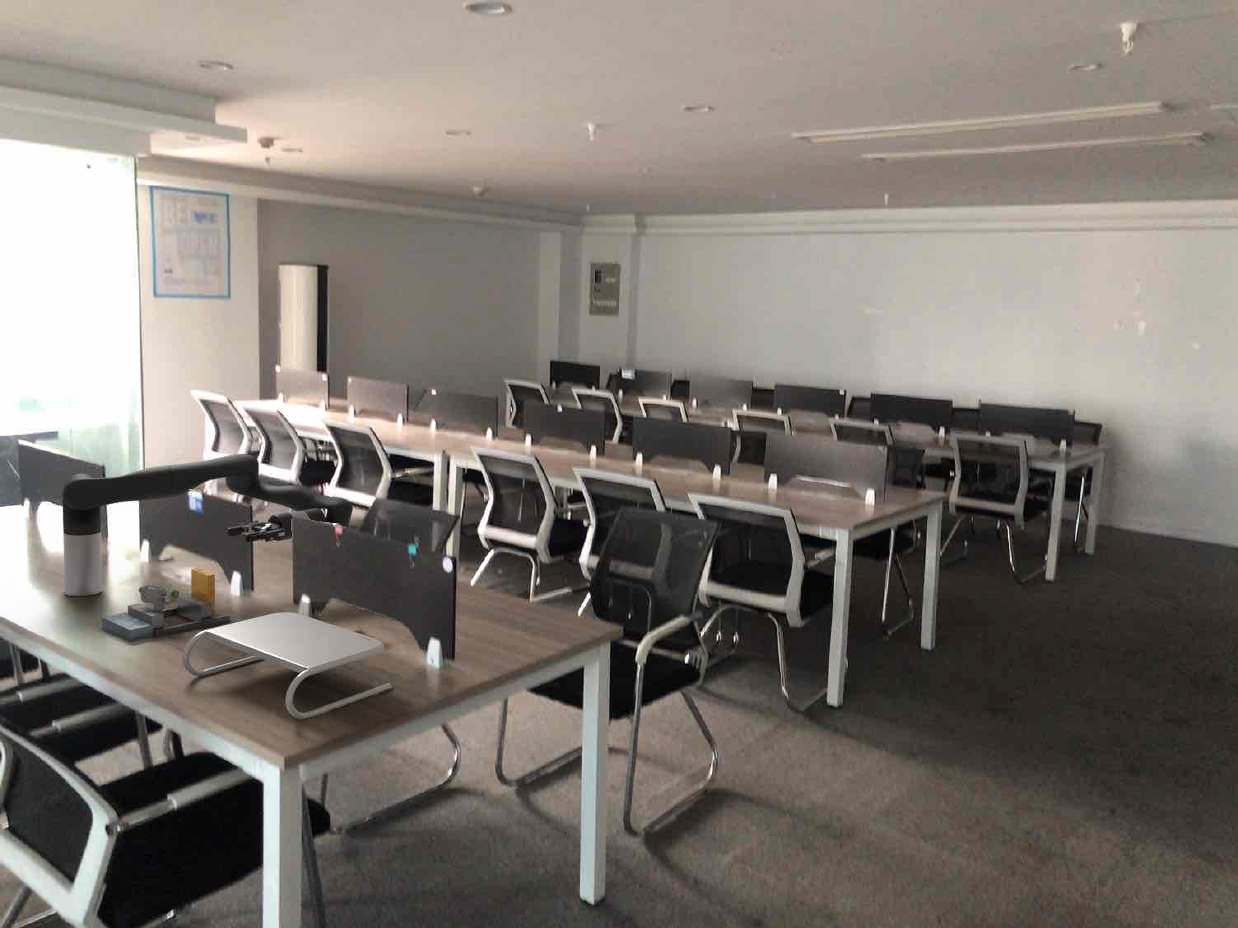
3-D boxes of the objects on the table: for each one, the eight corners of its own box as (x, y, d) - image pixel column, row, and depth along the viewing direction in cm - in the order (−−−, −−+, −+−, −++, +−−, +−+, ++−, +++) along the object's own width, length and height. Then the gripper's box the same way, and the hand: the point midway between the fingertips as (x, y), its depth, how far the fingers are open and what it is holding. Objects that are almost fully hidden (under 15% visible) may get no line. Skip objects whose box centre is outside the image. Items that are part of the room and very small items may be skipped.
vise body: (100, 627, 250) (100, 608, 249) (197, 607, 270) (197, 590, 270) (131, 642, 240) (131, 622, 240) (229, 620, 261) (229, 602, 260)
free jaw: (176, 613, 264) (176, 569, 262) (194, 609, 268) (194, 566, 266) (201, 623, 257) (201, 578, 255) (219, 620, 261) (219, 575, 259)
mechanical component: (173, 629, 251) (173, 591, 250) (137, 625, 253) (137, 587, 252) (180, 626, 254) (180, 588, 253) (145, 621, 256) (144, 584, 255)
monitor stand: (393, 689, 221) (394, 643, 220) (288, 728, 198) (288, 676, 197) (287, 651, 242) (287, 608, 240) (180, 681, 219) (180, 634, 217)
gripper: (304, 543, 276) (251, 554, 263) (275, 533, 285) (222, 543, 272) (304, 516, 275) (250, 526, 262) (274, 508, 283) (221, 517, 271)
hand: (236, 535), depth 267 cm, fingers open, 8 cm apart
